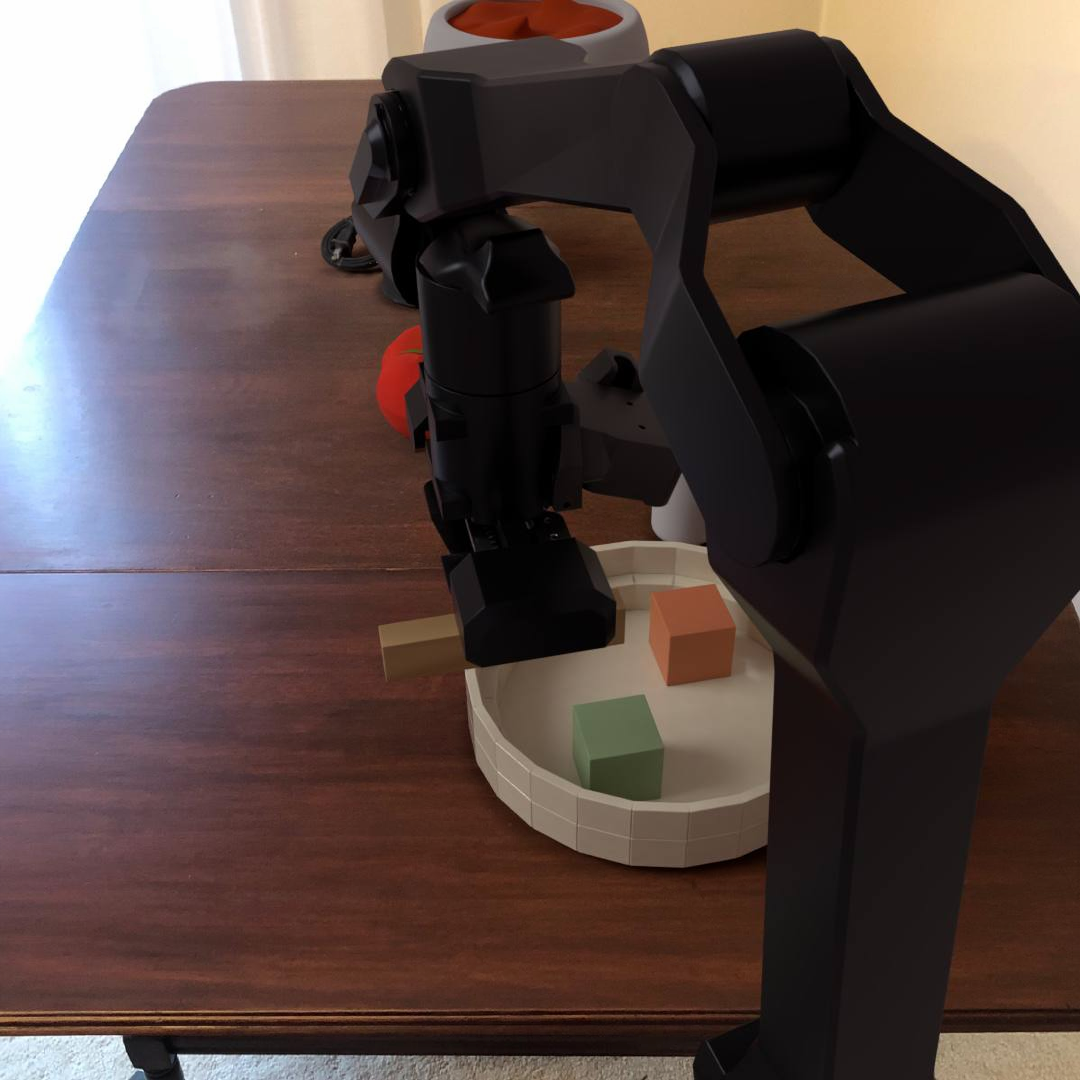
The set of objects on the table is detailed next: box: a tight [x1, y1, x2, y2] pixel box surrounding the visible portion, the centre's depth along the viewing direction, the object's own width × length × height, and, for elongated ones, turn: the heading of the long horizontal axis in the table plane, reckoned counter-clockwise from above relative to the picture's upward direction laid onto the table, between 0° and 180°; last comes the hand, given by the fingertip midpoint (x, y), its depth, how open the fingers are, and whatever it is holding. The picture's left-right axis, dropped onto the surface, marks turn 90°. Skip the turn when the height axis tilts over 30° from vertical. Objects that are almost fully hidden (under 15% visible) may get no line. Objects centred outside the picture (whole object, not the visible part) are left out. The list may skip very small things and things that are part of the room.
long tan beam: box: [378, 588, 626, 684], centre depth 60 cm, size 2×12×2 cm, turn 103°
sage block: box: [573, 694, 664, 801], centre depth 65 cm, size 4×4×4 cm
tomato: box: [376, 324, 430, 441], centre depth 94 cm, size 11×11×8 cm
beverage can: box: [650, 474, 706, 546], centre depth 81 cm, size 5×5×12 cm
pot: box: [422, 0, 651, 64], centre depth 131 cm, size 24×24×18 cm
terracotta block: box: [649, 584, 736, 686], centre depth 73 cm, size 4×4×4 cm
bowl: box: [464, 540, 774, 869], centre depth 69 cm, size 21×21×5 cm
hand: (504, 637), depth 60 cm, fingers closed on long tan beam, 2 cm apart
